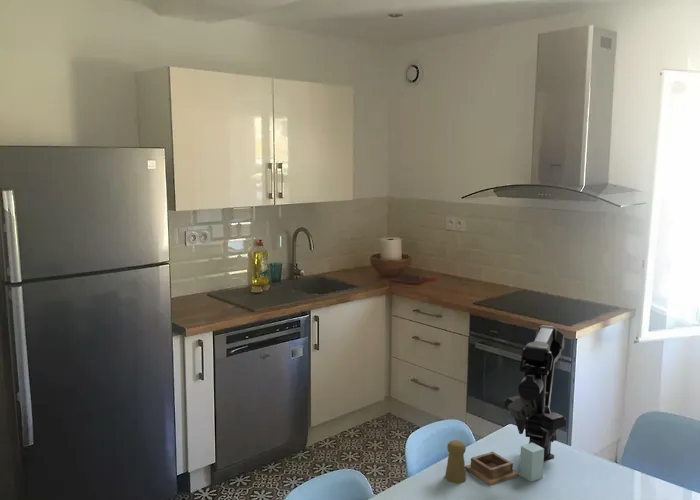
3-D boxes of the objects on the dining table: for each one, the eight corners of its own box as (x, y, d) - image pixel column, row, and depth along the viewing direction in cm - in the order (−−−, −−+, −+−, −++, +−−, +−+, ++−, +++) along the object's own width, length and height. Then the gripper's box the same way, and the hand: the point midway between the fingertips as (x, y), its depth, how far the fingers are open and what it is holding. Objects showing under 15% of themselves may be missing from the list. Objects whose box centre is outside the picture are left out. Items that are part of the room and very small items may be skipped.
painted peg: (530, 471, 181) (532, 442, 180) (542, 477, 177) (544, 448, 176) (519, 474, 179) (520, 445, 177) (531, 481, 175) (532, 452, 173)
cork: (465, 484, 173) (467, 447, 171) (444, 482, 174) (445, 445, 173) (466, 474, 179) (467, 438, 177) (445, 471, 180) (446, 436, 179)
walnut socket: (492, 460, 187) (492, 449, 187) (518, 475, 178) (519, 464, 177) (464, 468, 182) (465, 457, 181) (490, 485, 173) (490, 473, 172)
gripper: (491, 383, 178) (489, 433, 180) (539, 405, 162) (537, 460, 164) (519, 376, 184) (517, 425, 186) (568, 397, 168) (565, 450, 170)
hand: (532, 439), depth 176 cm, fingers open, 9 cm apart
